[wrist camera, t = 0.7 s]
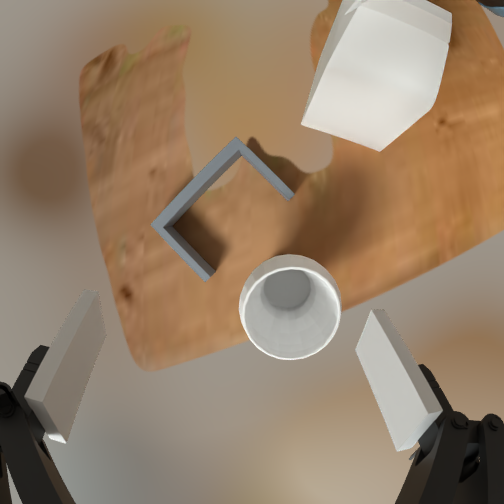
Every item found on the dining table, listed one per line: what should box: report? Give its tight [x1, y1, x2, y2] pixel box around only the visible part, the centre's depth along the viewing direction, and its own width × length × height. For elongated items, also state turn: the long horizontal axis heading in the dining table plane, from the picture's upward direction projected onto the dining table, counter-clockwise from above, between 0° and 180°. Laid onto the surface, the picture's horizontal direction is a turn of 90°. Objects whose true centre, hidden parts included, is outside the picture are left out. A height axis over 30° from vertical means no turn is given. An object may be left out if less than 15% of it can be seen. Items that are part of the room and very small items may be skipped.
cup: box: [239, 254, 342, 360], centre depth 37 cm, size 11×11×15 cm
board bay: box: [151, 137, 295, 282], centre depth 42 cm, size 16×10×4 cm, turn 135°
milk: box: [301, 0, 452, 152], centre depth 29 cm, size 12×12×26 cm
